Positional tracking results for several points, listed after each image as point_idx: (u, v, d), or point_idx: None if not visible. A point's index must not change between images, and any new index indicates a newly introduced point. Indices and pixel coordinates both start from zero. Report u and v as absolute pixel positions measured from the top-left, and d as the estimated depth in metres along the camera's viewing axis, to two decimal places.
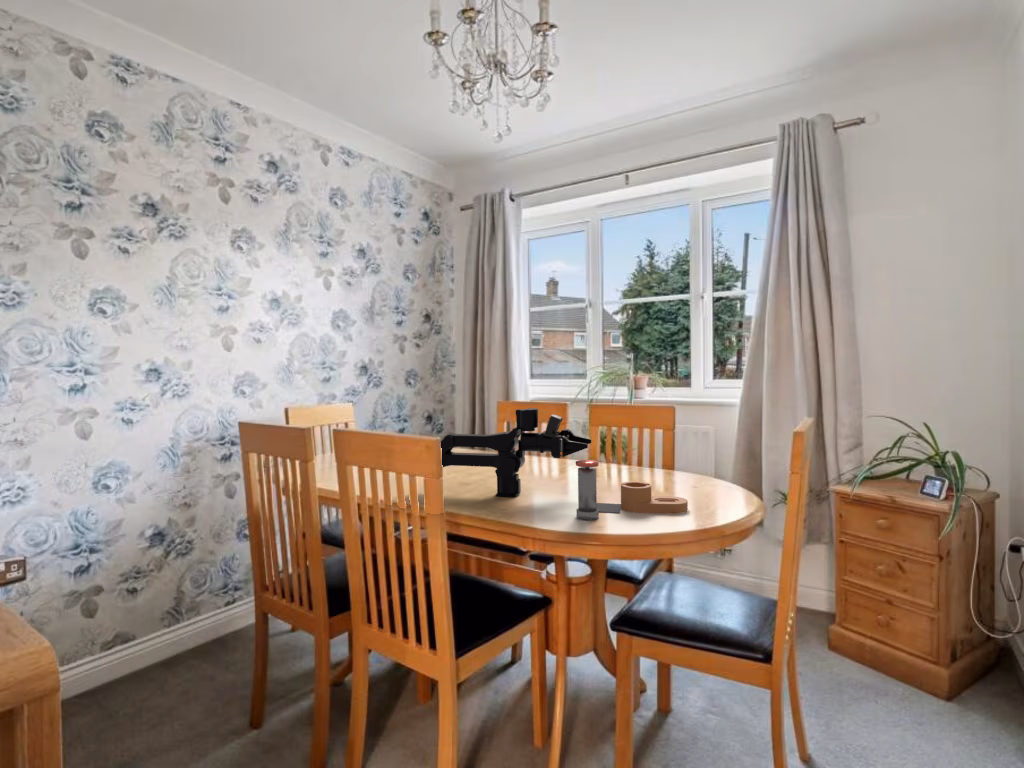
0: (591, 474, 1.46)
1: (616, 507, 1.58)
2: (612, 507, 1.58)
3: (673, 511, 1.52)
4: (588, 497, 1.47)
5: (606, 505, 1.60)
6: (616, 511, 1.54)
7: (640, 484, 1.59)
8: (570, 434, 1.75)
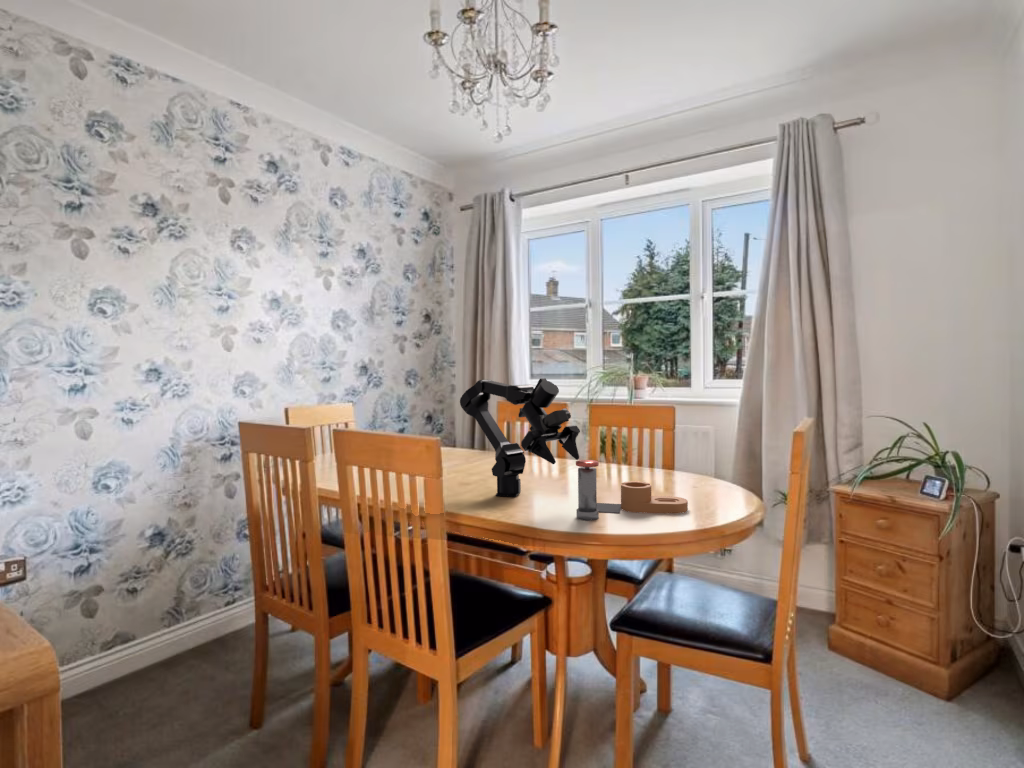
0: (591, 474, 1.46)
1: (616, 507, 1.58)
2: (612, 507, 1.58)
3: (672, 511, 1.52)
4: (588, 497, 1.47)
5: (606, 505, 1.60)
6: (616, 511, 1.54)
7: (640, 484, 1.59)
8: (570, 436, 1.61)
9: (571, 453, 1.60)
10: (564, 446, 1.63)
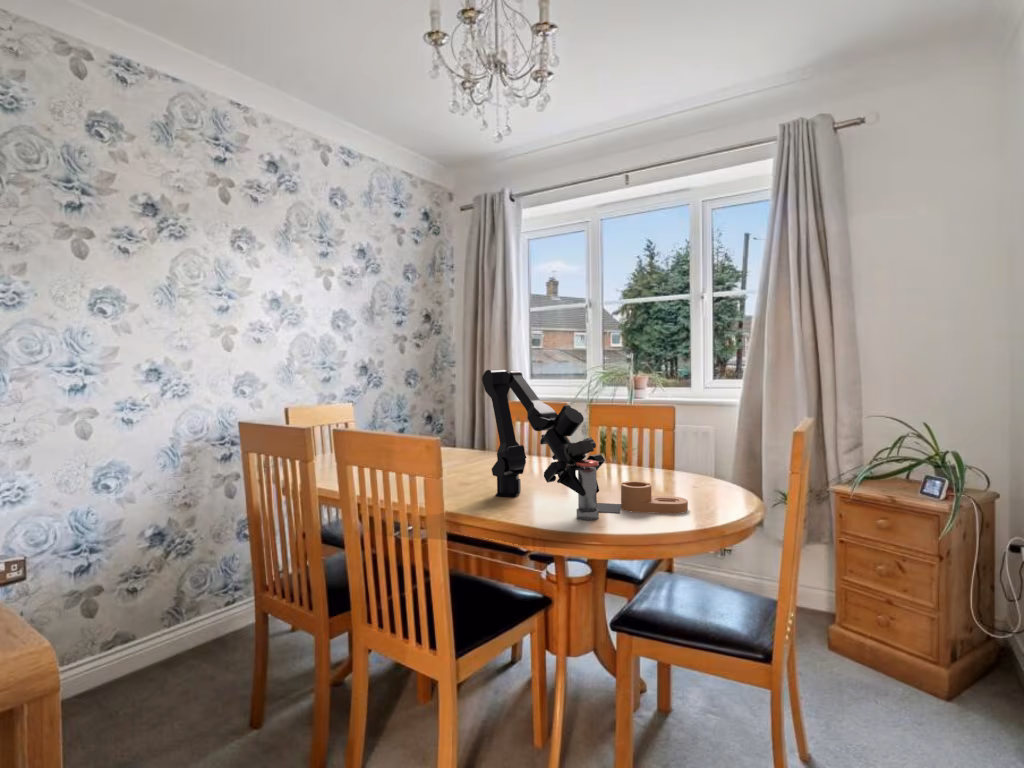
0: (591, 474, 1.46)
1: (616, 507, 1.58)
2: (612, 507, 1.58)
3: (672, 511, 1.52)
4: (588, 497, 1.47)
5: (606, 505, 1.60)
6: (616, 511, 1.54)
7: (641, 484, 1.60)
8: None
9: None
10: None
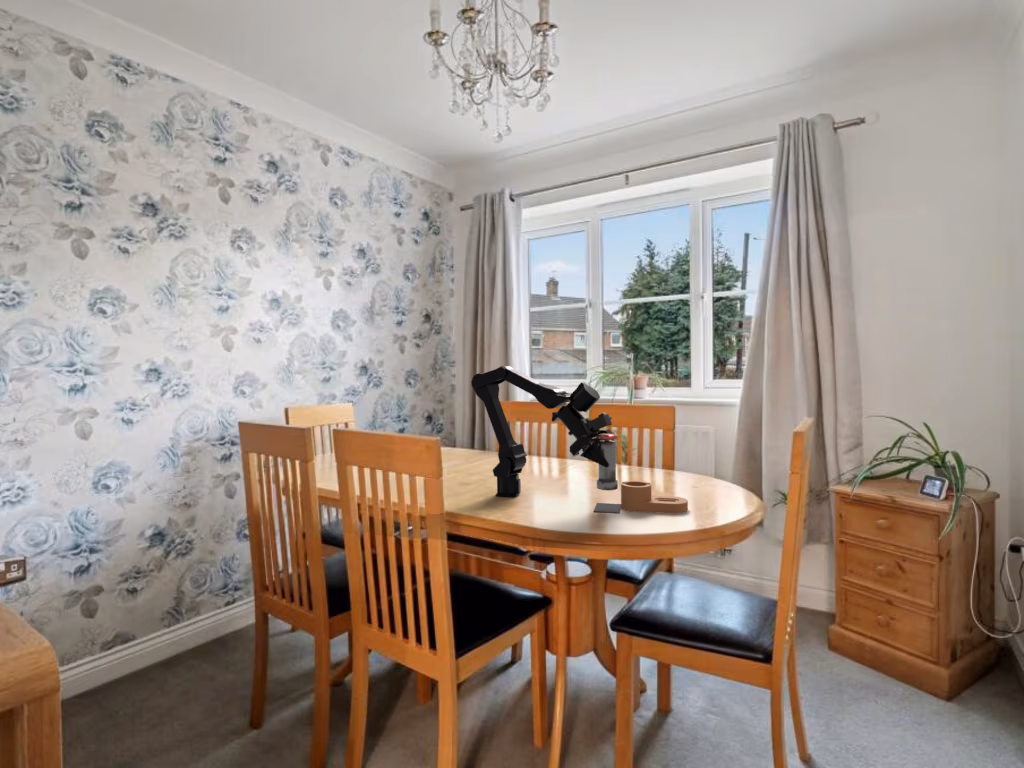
0: (613, 446, 1.55)
1: (616, 507, 1.58)
2: (612, 507, 1.58)
3: (671, 511, 1.52)
4: (610, 468, 1.55)
5: (606, 505, 1.60)
6: (616, 511, 1.54)
7: (641, 483, 1.60)
8: None
9: None
10: None
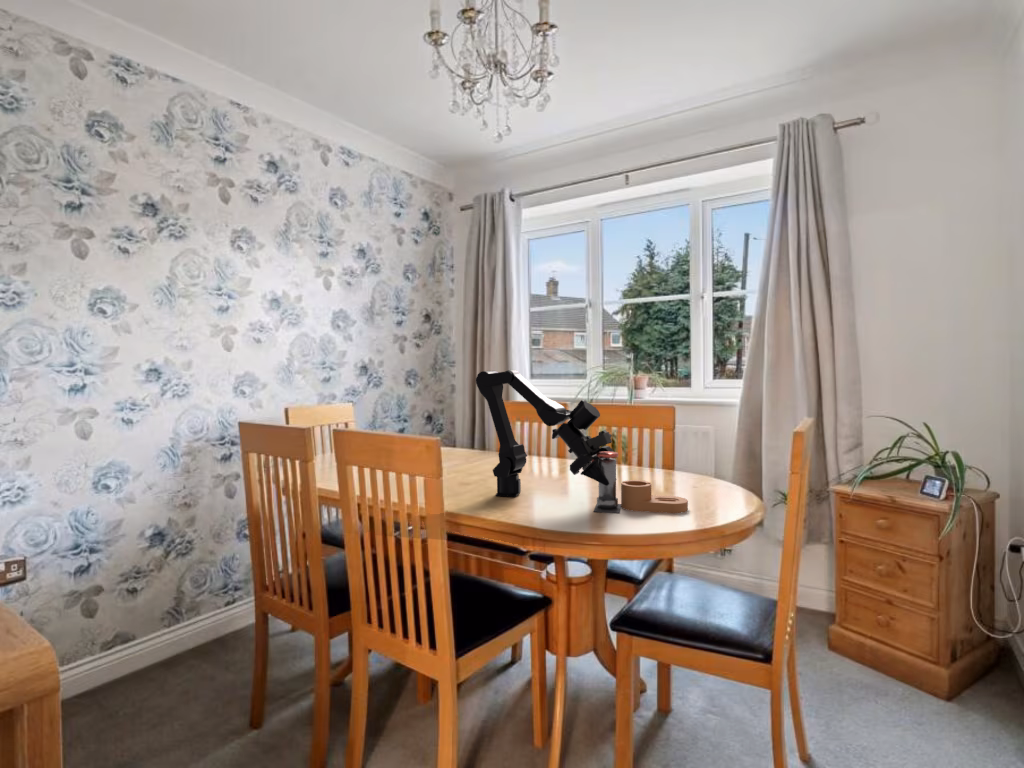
0: (613, 464, 1.55)
1: (616, 507, 1.58)
2: None
3: (670, 511, 1.52)
4: (611, 486, 1.55)
5: None
6: (616, 511, 1.54)
7: (641, 483, 1.61)
8: None
9: None
10: None
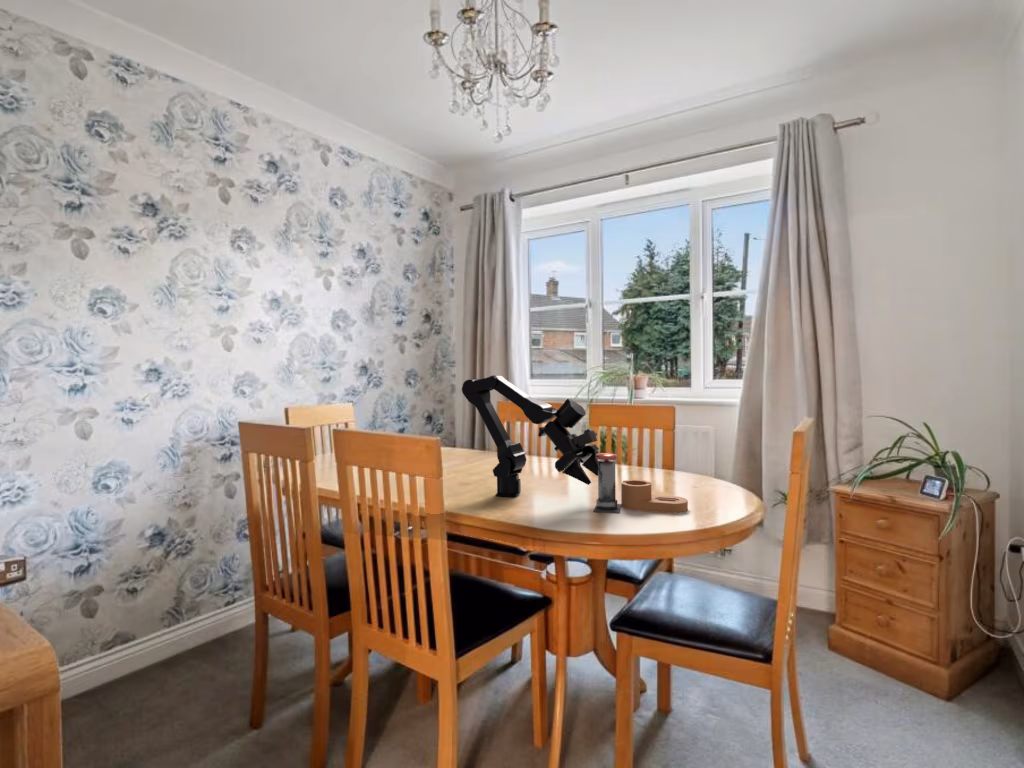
0: (612, 466, 1.55)
1: None
2: None
3: (670, 511, 1.53)
4: (610, 488, 1.55)
5: None
6: (616, 511, 1.54)
7: (642, 482, 1.61)
8: (593, 455, 1.65)
9: (594, 472, 1.64)
10: (585, 465, 1.66)
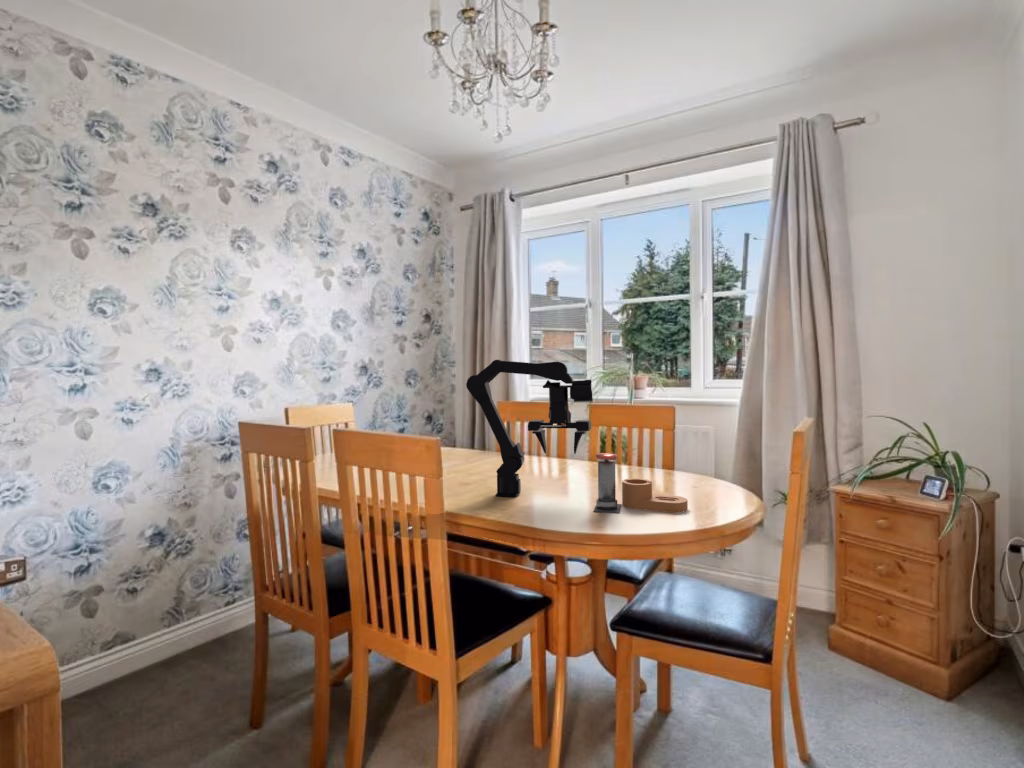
0: (612, 466, 1.55)
1: None
2: None
3: (667, 510, 1.53)
4: (610, 488, 1.55)
5: None
6: (616, 511, 1.54)
7: (644, 481, 1.62)
8: (544, 431, 1.75)
9: (544, 445, 1.73)
10: (542, 434, 1.72)
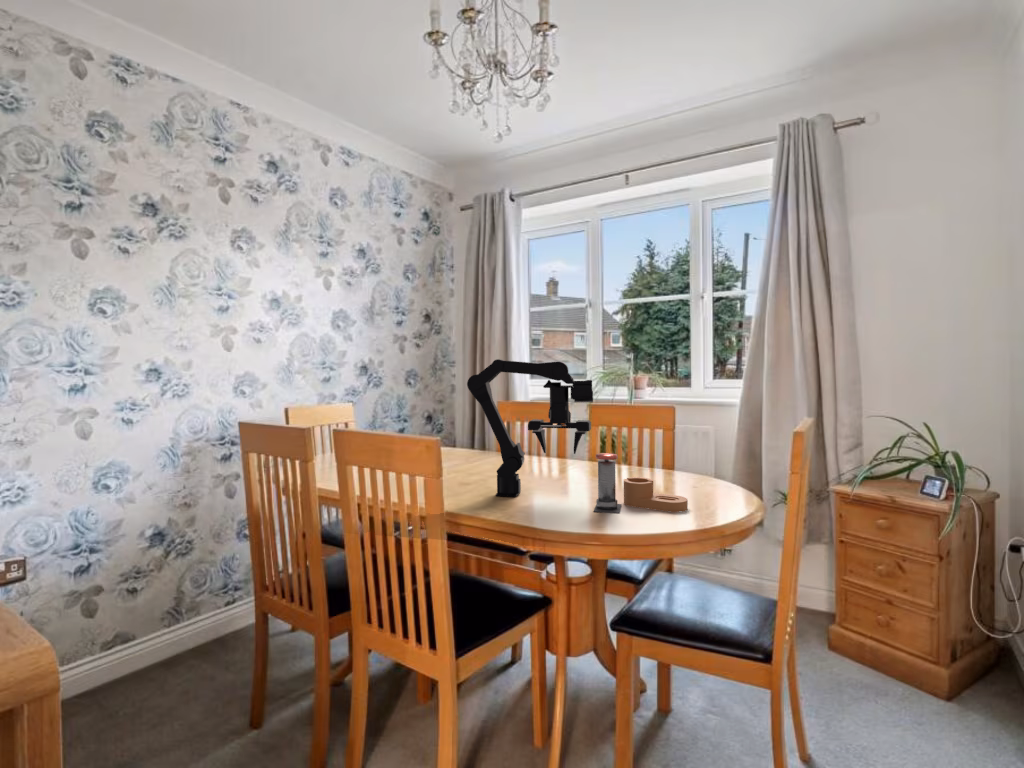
0: (612, 466, 1.55)
1: None
2: None
3: (666, 509, 1.54)
4: (610, 488, 1.55)
5: None
6: (616, 511, 1.54)
7: (646, 480, 1.64)
8: (544, 431, 1.75)
9: (544, 444, 1.73)
10: (542, 434, 1.72)
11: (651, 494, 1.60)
